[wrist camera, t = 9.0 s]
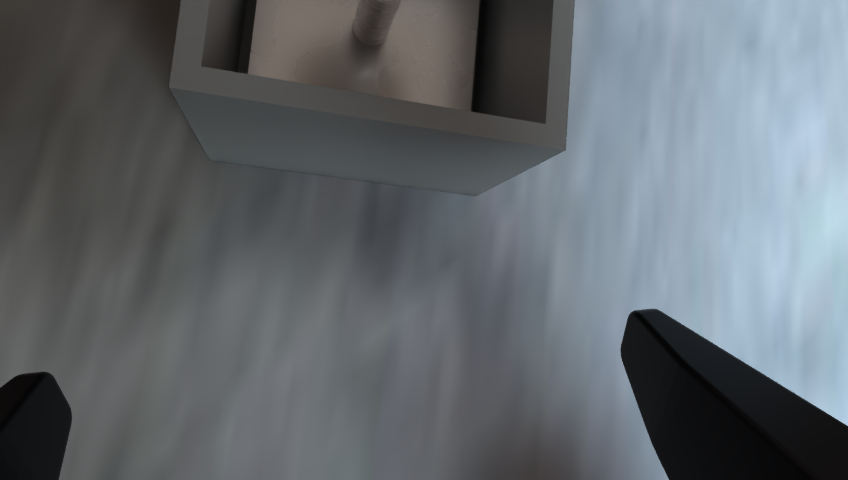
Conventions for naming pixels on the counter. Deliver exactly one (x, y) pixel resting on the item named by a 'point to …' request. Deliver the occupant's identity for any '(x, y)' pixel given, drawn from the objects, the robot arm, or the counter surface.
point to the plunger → (371, 47)
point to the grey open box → (381, 104)
